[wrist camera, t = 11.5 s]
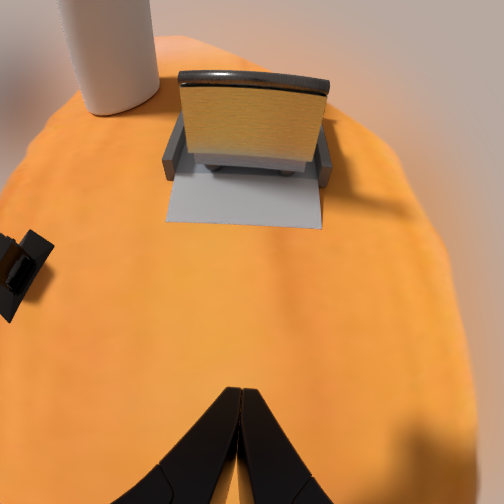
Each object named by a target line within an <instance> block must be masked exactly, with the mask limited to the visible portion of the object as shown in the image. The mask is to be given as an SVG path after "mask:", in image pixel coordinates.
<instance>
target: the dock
mask: <svg viewBox="0 0 504 504" xmlns="http://www.w3.org/2000/svg"><path fill="white" fill-rule="evenodd" d="M162 163H163V167H164V171H165V175H166V178H167V180H174V182H173V187H172V191H171V196H170V201H169V206H168V212H167V217H166V222H187V223H214V224H238V225H258V226H277V227H295V228H311V229H322V223H321V210H320V198H319V187H326V186H327V183H328V180H329V177H330V174H331V171H332V163H331V159H330V154H329V150H328V146H327V142H326V138H325V134H324V130H323V126H322V123H321V127H320V131H319V135H318V139H317V143H316V147H315V151H314V155H313V159H312V162H308V161H306V165H305V169H304V172H295V174H293V175H292V176H289V177H284V176H282V175H280V174H279V173H278V171H277V169H266V168H254V167H240V166H225V165H223V166H222V167H221V168H220V169H219V170H217V171H210V170H208V169H206V168H205V166H204V164H195V159H194V153H188V148H187V141H186V134H185V127H184V120H183V113H182V110H181V112H180V115H179V117H178V119H177V122H176V124H175V127H174V129H173V132H172V134H171V137H170V139H169V142H168V145H167V147H166V150H165V153H164V155H163V158H162Z"/></svg>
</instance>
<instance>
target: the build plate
mask: <svg viewBox="0 0 504 504" xmlns="http://www.w3.org/2000/svg"><path fill="white" fill-rule="evenodd" d="M53 248H54V245H53V244H52V243H50V242H49V241H47V240H46V239H44V238H43V237H41V236H40V235H38V234H37V233H35V232H34V231H32V230H31V229H30V230H29V231H28V232H27V234H26V235H25V236H24V238H23V239H22V241H21V242H20V244H17V243H16V240H15V239H11V238H10V237H9V236H7V237H6V236H5V235H3V234H2V233H0V314H1V315H2V316H3V318H4V319H5V320H6V321H7V322H8V323H11V321H12V319H13V317H14V315H15V313H16V311H17V309H18V307H19V305H20V303H21V301H22V300H23V298H24V296H25V294H26V292H27V291H28V289H29V287H30V285H31V284H32V282H33V280H34V278H35V277H36V275H37V273H38V272H39V270H40V269H41V267H42V265H43V264H44V262H45V261H46V259H47V257H48V256H49V254H50V253H51V251H52V250H53Z"/></svg>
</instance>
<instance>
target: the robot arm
mask: <svg viewBox="0 0 504 504" xmlns="http://www.w3.org/2000/svg"><path fill="white" fill-rule="evenodd" d="M241 396H242V398H241ZM240 408H241V410H240ZM239 421H240V422H239ZM238 433H239V435H238ZM237 445H238V447H237ZM236 456H237V473H238V487H239V499H240V504H334V503H333V502H332V501H331V500H330V498H329V497H328V496H327V494H326V493H325V492H324V491H323V489H322V488H321V487H320V485H319V484H318V482H317V481H316V479H315V478H314V477H312V474H311V472H310V471H309V469H308V468H307V466H306V465H305V464H304V462H303V461H302V459H301V458H300V456H299V454H298V453H297V451H296V450H295V448H294V447H293V445H292V444H291V442H290V441H289V439H288V438H287V436H286V434H285V433H284V431H283V430H282V428H281V426H280V425H279V423H278V422H277V420H276V418H275V417H274V415H273V414H272V412H271V410H270V409H269V407H268V405H267V404H266V402H265V400H264V399H263V397H262V395H261V394H260V392H259V391H258V390H257V389H252V388H243V389H241V388H239V387H226V388H225V389H224V390H223V392H222V393H221V394H220V395H219V396H218V397H217V399H216V400H215V401H214V402H213V403H212V404H211V406H210V407H209V408H208V409H207V410H206V411H205V413H204V414H203V415H202V416H201V417H200V418H199V419H198V421H197V422H196V423H195V424H194V425H193V426H192V427H191V428H190V429H189V431H188V432H187V433H186V434H185V435H184V436H183V437H182V438H181V439H180V440H179V442H178V443H177V444H176V445H175V446H174V447H173V448H172V449H171V450H170V451H169V452H168V453H167V454H166V455H165V456H164V458H163V459H162V460H161V461H160V462H159V464H157V465H156V466H155V467H154V468H153V469H152V470H151V471H150V472H149V473H148V474H147V475H146V476H145V477H144V478H142V479H141V480H140V481H139V482H138V483H137V484H136V485H135V486H134V487H132V488H131V489H130V490H128V491H127V492H126V493H124V494H123V495H122V496H120V497H119V498H118V499H116V500H115V501H113V502H112V503H110V504H225V503H226V499H227V495H228V491H229V487H230V483H231V479H232V475H233V471H234V467H235V462H236Z"/></svg>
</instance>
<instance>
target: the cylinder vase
mask: <svg viewBox="0 0 504 504" xmlns="http://www.w3.org/2000/svg"><path fill="white" fill-rule="evenodd" d="M57 4H58V9H59V14H60V19H61V23H62V27H63V32H64V36H65V39H66V44H67V47H68V51H69V55H70V58H71V62H72V65H73V69H74V72H75V75H76V79H77V82H78V85H79V88H80V91H81V94H82V97H83V100H84V103H85V106H86V109H87V110H88V111H89V112H90V113H92V114H95V115H111V114H116V113H120V112H123V111H126V110H129V109H132V108H134V107H136V106H138V105H140V104H142V103H144V102H145V101H147V100H148V99H150V98H151V97H152V96H153V95H154V94H155V93H156V92H157V90H158V89H159V86H160V79H159V72H158V66H157V59H156V52H155V45H154V37H153V30H152V21H151V13H150V3H149V0H57Z"/></svg>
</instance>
